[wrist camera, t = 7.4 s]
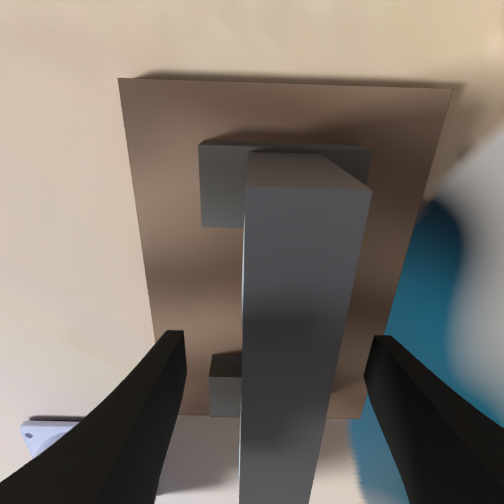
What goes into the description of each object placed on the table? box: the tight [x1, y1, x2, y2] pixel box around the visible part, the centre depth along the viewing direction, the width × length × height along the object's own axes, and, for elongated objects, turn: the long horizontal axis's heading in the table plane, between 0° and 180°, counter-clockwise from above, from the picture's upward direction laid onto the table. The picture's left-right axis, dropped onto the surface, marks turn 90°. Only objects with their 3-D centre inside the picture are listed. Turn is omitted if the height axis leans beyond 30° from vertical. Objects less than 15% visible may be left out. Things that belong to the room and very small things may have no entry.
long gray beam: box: [239, 151, 373, 504], centre depth 11 cm, size 14×3×5 cm, turn 178°
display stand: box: [118, 78, 452, 419], centre depth 15 cm, size 18×12×2 cm, turn 178°
